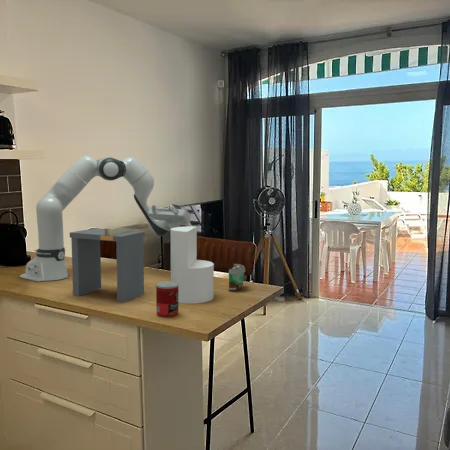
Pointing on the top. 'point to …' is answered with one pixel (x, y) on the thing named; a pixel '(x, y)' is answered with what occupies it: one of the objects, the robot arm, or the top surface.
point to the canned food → (167, 299)
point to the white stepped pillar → (190, 267)
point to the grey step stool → (91, 262)
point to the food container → (236, 278)
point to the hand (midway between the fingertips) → (161, 207)
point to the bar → (126, 228)
